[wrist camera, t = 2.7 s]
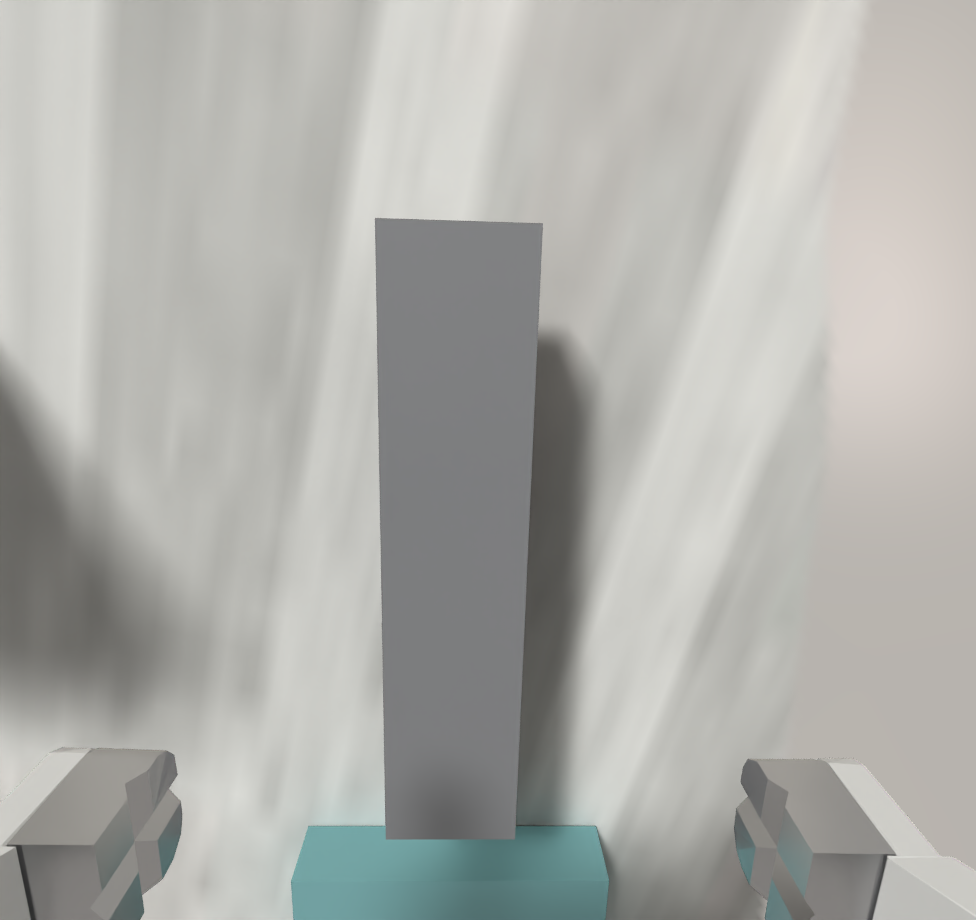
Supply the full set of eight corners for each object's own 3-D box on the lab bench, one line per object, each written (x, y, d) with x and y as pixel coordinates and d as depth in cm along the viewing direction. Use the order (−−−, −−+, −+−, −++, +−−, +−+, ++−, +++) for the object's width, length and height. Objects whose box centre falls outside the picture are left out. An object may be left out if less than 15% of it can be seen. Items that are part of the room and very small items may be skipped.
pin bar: (505, 722, 24) (515, 839, 19) (404, 721, 24) (385, 839, 19) (523, 247, 20) (543, 223, 14) (401, 243, 20) (375, 217, 14)
